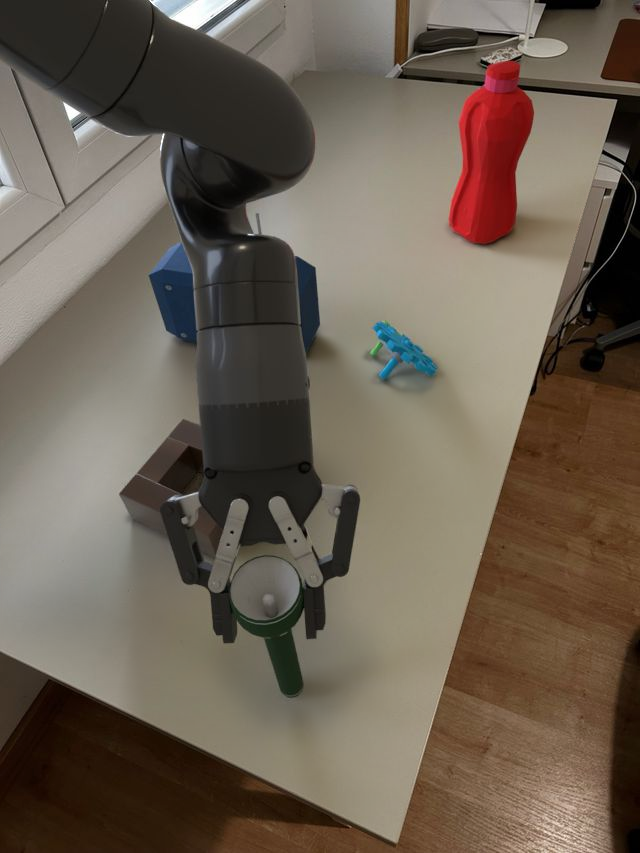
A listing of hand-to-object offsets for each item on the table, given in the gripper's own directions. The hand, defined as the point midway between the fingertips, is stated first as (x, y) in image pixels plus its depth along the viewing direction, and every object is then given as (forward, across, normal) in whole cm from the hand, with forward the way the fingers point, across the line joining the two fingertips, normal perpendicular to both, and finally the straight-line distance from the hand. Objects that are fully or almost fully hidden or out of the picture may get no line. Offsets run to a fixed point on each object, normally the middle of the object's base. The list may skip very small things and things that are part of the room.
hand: (271, 635), depth 45 cm
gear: (-18, +15, +42) cm, 49 cm away
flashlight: (+10, 0, +13) cm, 17 cm away
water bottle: (-40, +31, +65) cm, 82 cm away
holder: (-5, -10, +29) cm, 31 cm away
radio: (-24, -7, +49) cm, 55 cm away
